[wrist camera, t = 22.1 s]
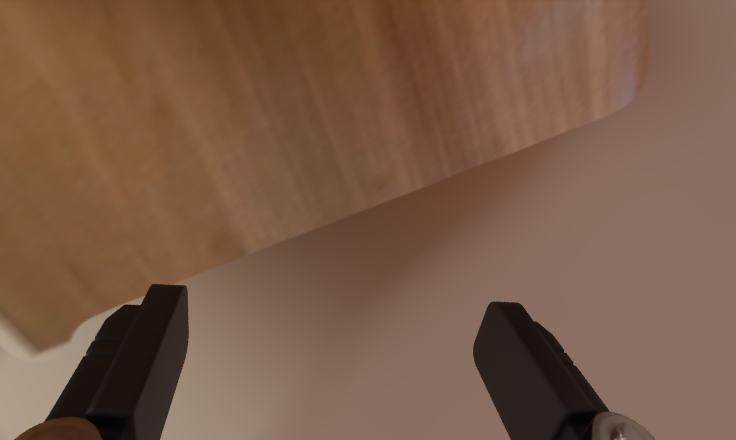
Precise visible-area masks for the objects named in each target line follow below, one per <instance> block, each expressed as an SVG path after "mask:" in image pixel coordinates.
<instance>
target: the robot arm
mask: <svg viewBox="0 0 736 440" xmlns="http://www.w3.org/2000/svg"><path fill="white" fill-rule="evenodd" d="M188 338H189V327H188V292H187V287H186V286H183V285H164V284H152V285H151V286H150V288H149V290H148V292H147V294H146V296H145V298H144V300H143V302H142V304H141V305H124V306H122V307H121V308H120V309H119V310H117V311H116V312H115V313H113V314H112V315H111V316H110V317H108V318H107V319H106V320H105V322H104V323H103V325H102V327H101V328H100V330H99V332H98V333H97V335H96V337H95V341H93V342H92V343H91V345H90V347H89V348H88V350H87V352H86V356H84V357H83V358H82V360H81V362H80V363H79V365H78V367H77V369H76V370H75V372H74V374H73V375H72V377H71V379H70V380H69V382H68V384H67V385H66V387H65V389H64V390H63V392H62V394H61V395H60V397H59V399H58V400H57V402H56V404H55V405H54V407H53V409H52V410H51V412H50V414H49V416H48V417H47V418H46V420H45V421H44V422H43V423H41V424H38V425H36V426H34V427H32V428H30V429H28V430H27V431H25V432H24V433H22V434H21V435H19V436H18V437H17V438H16V439H14V440H160V437H161V434H162V431H163V428H164V425H165V421H166V418H167V415H168V412H169V408H170V405H171V402H172V399H173V396H174V393H175V390H176V386H177V383H178V380H179V376H180V373H181V370H182V367H183V364H184V361H185V357H186V353H187V346H188ZM473 356H474V361H475V365H476V367H477V369H478V371H479V373H480V375H481V378H482V380H483V382H484V384H485V386H486V388H487V390H488V392H489V394H490V397H491V399H492V401H493V403H494V405H495V407H496V409H497V411H498V413H499V415H500V418H501V420H502V422H503V424H504V426H505V428H506V430H507V432H508V435H509V436H510V439H511V440H655V439H654V437H653V436H652V435H651V434H650V433H649V432H648V431H647V430H646V429H645V428H643V427H642V426H641V425H640V424H638V423H637V422H635V421H634V420H632V419H630V418H628V417H626V416H624V415H621V414H618V413H614V412H610V411H609V410H608V408H607V407H606V406H605V404H604V403H603V402H602V400H601V399H600V398H599V396H598V395H597V394H596V392H595V391H594V390H593V388H592V387H591V386H590V384H589V383H588V382H587V380H586V379H585V377H584V376H583V375H582V373H581V372H580V371H579V370H578V368H577V367H576V366H574V365H573V361H572V360H571V359H570V357H569V356H568V355H567V353H564V349H563V348H562V346H561V345H560V344H559V342H558V341H557V340H556V339H555V338H554V336H553V335H552V334H551V333H550V332H548V331H547V330H546V329H545V328H544V327H542V326H541V325H540V324H539V323H538V322H534V321H533V320H532V319H531V317H530V316H529V314H528V313H527V311H526V310H525V309H524V307H523V306H522V305H521V304H520V303H513V302H491V303H490V304H489V305H488V307H487V310H486V312H485V315H484V318H483V320H482V323H481V326H480V329H479V331H478V334H477V337H476V340H475V342H474V347H473Z"/></svg>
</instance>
